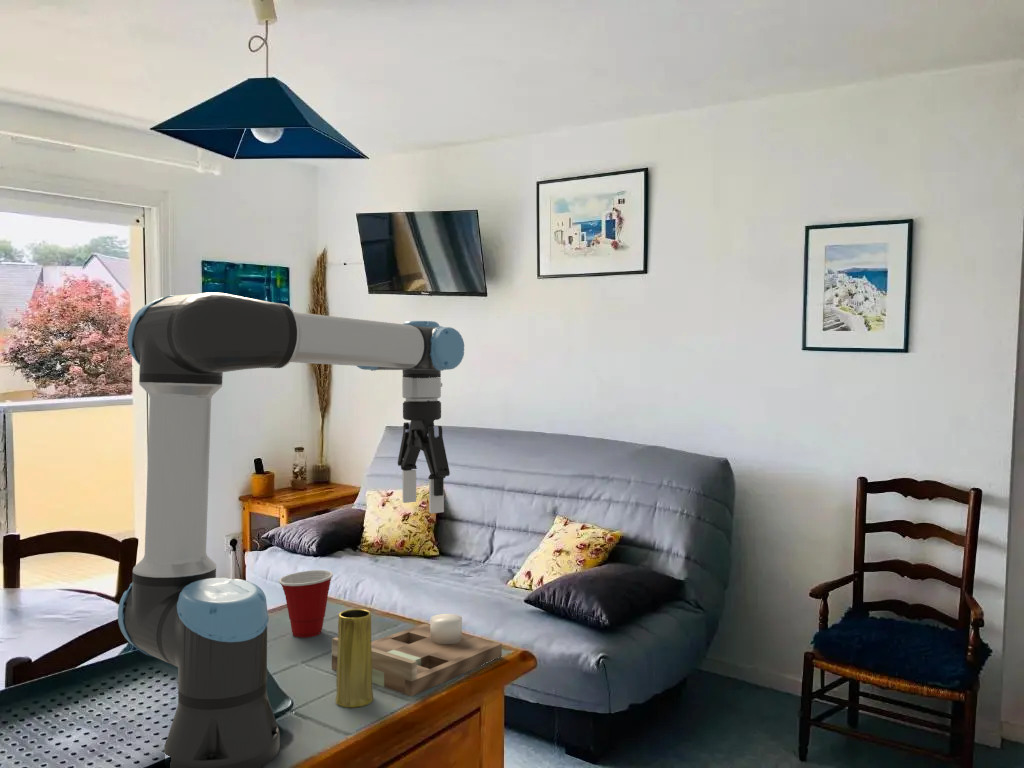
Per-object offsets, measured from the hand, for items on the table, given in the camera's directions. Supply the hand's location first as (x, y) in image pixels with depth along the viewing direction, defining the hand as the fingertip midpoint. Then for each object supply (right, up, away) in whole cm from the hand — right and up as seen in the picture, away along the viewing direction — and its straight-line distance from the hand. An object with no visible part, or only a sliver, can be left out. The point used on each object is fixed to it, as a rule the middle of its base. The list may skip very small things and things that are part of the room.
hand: (422, 507), depth 161 cm
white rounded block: (+5, -25, -5) cm, 26 cm away
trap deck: (0, -27, -11) cm, 29 cm away
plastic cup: (-25, -27, +6) cm, 37 cm away
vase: (-8, -27, -28) cm, 40 cm away
